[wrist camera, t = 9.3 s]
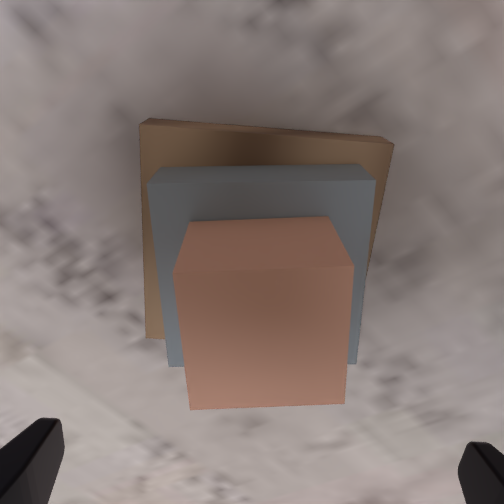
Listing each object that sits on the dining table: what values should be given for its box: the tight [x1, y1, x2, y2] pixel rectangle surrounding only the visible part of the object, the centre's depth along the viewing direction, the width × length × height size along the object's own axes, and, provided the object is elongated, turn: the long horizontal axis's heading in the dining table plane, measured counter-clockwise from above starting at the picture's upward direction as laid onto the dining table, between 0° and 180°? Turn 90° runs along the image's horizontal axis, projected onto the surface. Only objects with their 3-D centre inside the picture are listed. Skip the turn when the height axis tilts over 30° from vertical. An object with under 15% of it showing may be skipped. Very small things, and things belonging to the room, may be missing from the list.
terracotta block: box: [172, 216, 354, 410], centre depth 15 cm, size 5×5×4 cm
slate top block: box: [147, 164, 376, 367], centre depth 18 cm, size 8×8×2 cm
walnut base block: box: [139, 118, 394, 339], centre depth 20 cm, size 10×10×2 cm
